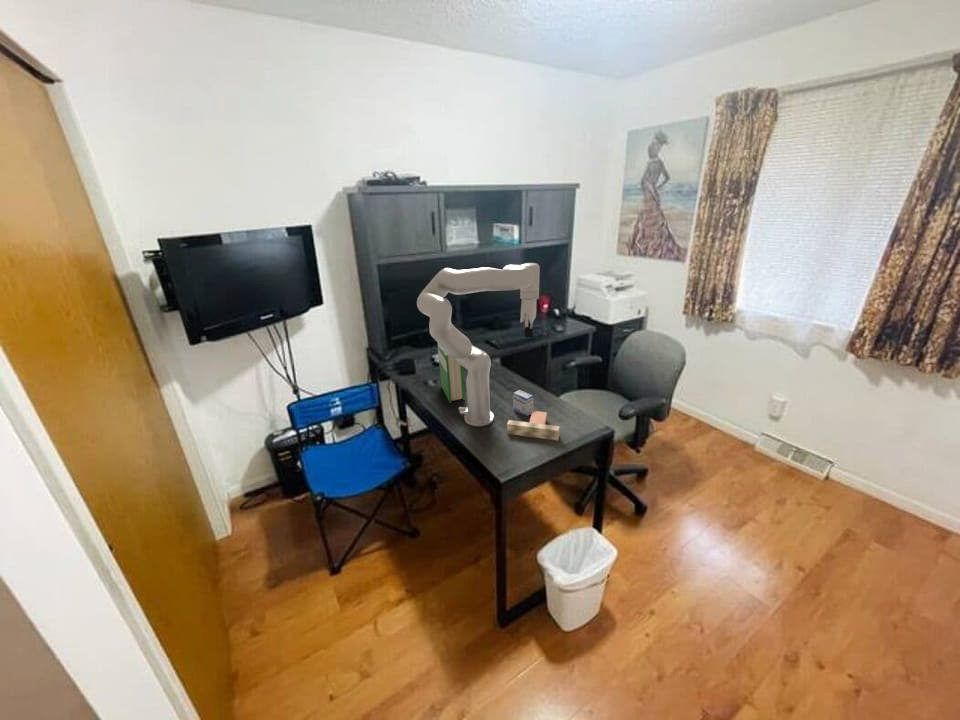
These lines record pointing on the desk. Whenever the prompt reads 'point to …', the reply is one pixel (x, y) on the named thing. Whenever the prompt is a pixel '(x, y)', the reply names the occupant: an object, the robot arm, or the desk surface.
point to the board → (533, 430)
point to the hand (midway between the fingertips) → (528, 336)
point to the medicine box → (522, 402)
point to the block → (538, 417)
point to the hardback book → (451, 377)
